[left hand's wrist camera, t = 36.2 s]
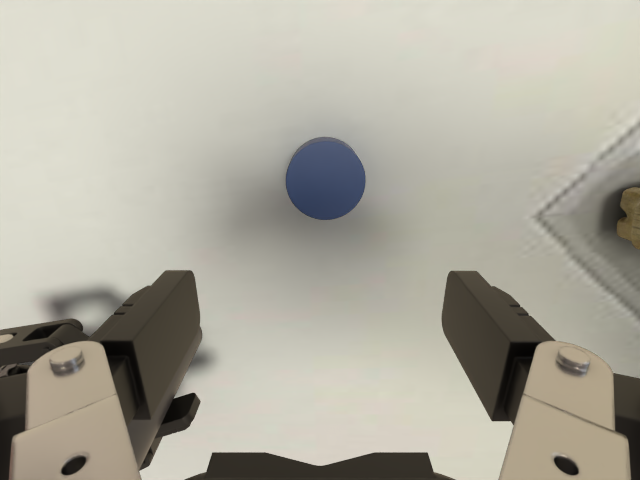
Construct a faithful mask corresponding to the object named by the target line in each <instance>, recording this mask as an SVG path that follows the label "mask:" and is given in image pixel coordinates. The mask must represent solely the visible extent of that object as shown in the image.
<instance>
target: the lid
mask: <svg viewBox="0 0 640 480" xmlns="http://www.w3.org/2000/svg"><path fill="white" fill-rule="evenodd" d="M286 187H287V192H288V195H289V197H290V199H291V201H292V202H293V204H294V205H295V206H296V207H297V208H298V209H299V210H300V211H301V212H302V213H304V214H306V215H307V216H310V217H312V218H315V219H321V220H330V219H335V218H339V217H341V216H343V215H345V214H347V213H348V212H350V211H351V210H352V209H353V208H354V207H355V206H356V205H357V204H358V202H359V201H360V199H361V197H362V195H363V192H364V188H365V172H364V168H363V166H362V163H361V161H360V160H359V158H358V157H357V155H356V154H355V152H354V151H353V150H352V149H351V148H350V147H349V146H348V145H347V144H346V143H344V142H342V141H340V140H338V139H335V138H330V137H320V138H315V139H313V140H310V141H308V142H306V143H305V144H303V145H302V146H301V147H300V148H299V149H298V150H297V151H296V152H295V154H294V156H293V158H292V160H291V162H290V164H289V167H288V170H287V174H286Z"/></svg>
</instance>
